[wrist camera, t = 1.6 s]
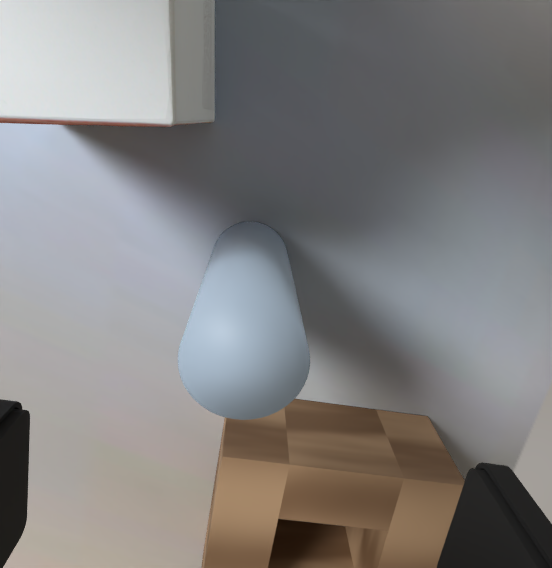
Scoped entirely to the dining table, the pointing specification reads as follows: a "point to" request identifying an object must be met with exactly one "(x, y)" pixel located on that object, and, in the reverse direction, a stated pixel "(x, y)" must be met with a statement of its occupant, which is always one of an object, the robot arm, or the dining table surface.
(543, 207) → the dining table surface
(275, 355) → the peg
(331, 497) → the socket block
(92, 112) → the small box
